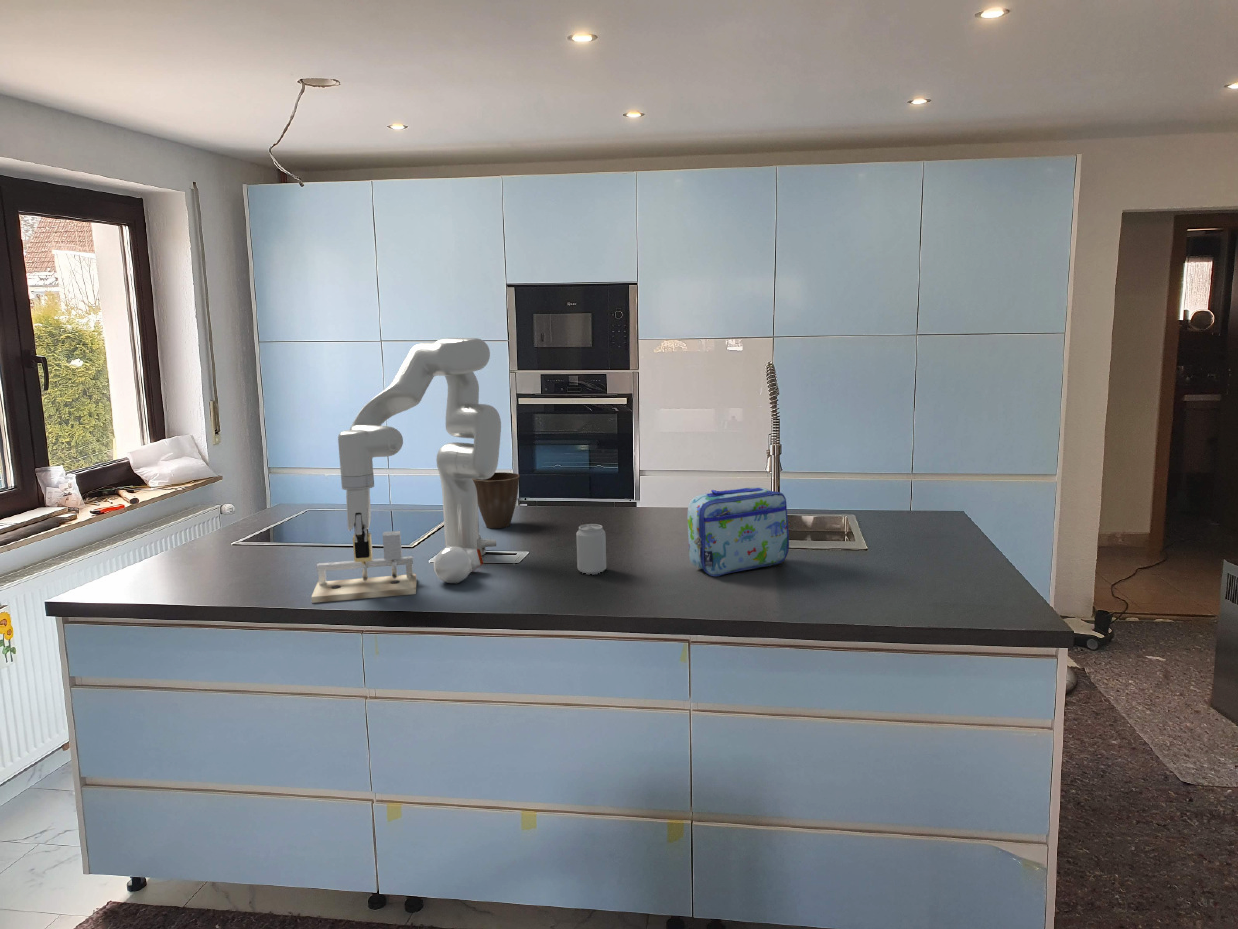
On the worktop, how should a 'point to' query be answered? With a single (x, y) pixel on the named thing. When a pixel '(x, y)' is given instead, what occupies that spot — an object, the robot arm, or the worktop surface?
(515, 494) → the plant pot
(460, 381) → the robot arm
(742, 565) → the lunch box
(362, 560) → the block
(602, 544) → the can
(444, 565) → the potion bottle
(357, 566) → the trammel frame
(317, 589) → the hole plate
